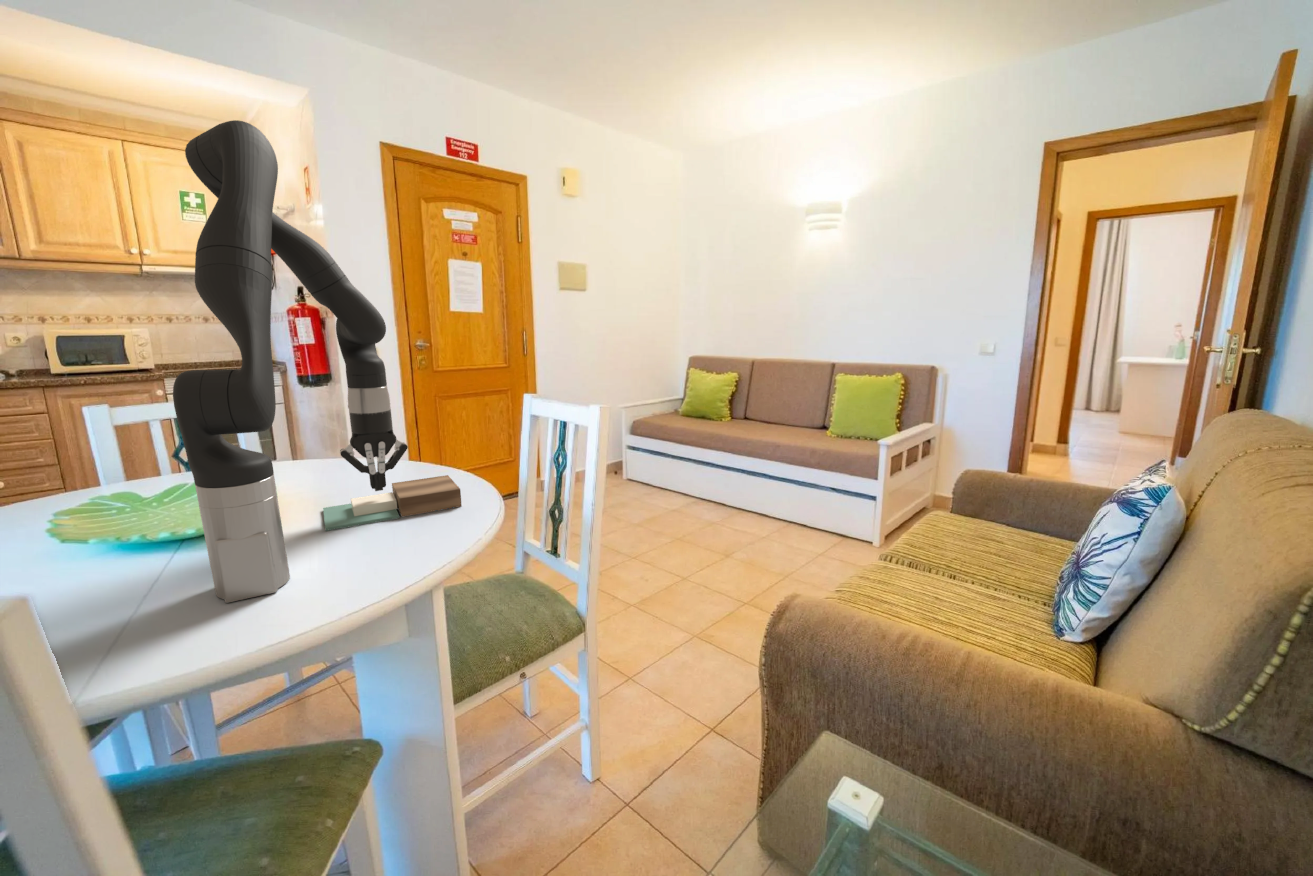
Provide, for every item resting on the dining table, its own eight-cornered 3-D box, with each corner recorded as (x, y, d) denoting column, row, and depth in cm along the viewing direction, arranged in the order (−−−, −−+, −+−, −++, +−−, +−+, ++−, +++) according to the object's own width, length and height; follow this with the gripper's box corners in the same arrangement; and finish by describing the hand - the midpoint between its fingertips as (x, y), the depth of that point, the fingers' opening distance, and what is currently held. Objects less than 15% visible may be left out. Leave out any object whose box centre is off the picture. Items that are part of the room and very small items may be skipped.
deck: (461, 506, 117) (460, 488, 116) (401, 516, 110) (399, 498, 110) (449, 491, 127) (448, 475, 126) (393, 500, 120) (391, 483, 119)
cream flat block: (397, 508, 113) (396, 500, 113) (354, 516, 109) (353, 507, 108) (393, 500, 118) (392, 492, 118) (351, 507, 114) (350, 498, 113)
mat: (399, 518, 110) (399, 515, 110) (325, 531, 103) (325, 528, 103) (390, 499, 120) (390, 497, 120) (323, 510, 114) (323, 507, 113)
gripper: (333, 414, 102) (343, 500, 106) (408, 408, 109) (415, 489, 113) (331, 408, 108) (341, 490, 112) (402, 403, 115) (410, 480, 119)
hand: (379, 489), depth 113 cm, fingers closed
